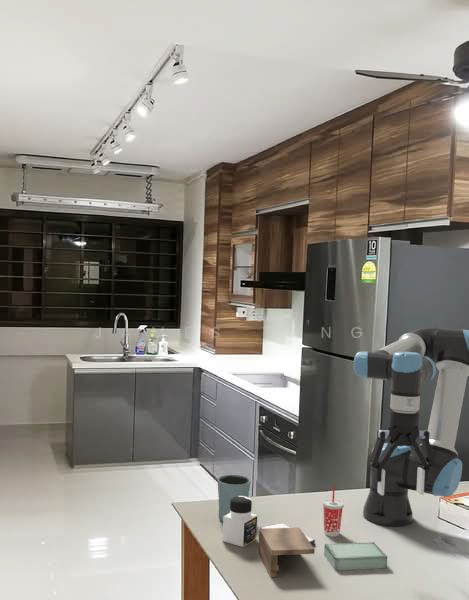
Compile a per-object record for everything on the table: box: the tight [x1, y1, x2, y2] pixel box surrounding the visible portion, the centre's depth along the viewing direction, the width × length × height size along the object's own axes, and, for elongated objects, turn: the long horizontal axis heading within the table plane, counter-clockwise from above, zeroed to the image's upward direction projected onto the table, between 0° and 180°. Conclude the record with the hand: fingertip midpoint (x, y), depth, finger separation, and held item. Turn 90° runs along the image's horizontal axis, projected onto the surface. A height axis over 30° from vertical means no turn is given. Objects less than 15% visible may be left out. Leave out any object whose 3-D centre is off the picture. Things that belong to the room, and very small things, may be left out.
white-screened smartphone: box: [259, 522, 316, 547], centre depth 187 cm, size 9×2×16 cm
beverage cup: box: [322, 485, 345, 537], centre depth 191 cm, size 6×6×14 cm
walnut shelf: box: [258, 527, 315, 578], centre depth 169 cm, size 11×14×7 cm
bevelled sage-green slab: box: [323, 542, 388, 571], centre depth 173 cm, size 14×9×3 cm, turn 100°
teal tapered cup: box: [217, 474, 251, 522], centre depth 200 cm, size 10×10×12 cm
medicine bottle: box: [221, 496, 258, 548], centre depth 183 cm, size 7×7×12 cm
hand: (400, 493), depth 174 cm, fingers open, 10 cm apart
